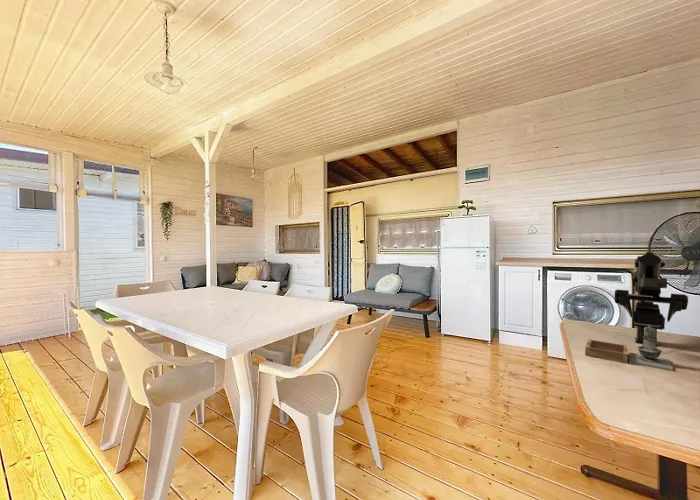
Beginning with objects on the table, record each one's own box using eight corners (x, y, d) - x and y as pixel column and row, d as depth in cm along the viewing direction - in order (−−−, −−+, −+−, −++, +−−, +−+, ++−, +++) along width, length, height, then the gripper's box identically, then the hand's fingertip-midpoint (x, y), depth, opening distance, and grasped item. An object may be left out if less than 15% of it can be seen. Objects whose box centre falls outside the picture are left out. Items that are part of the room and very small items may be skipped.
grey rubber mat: (629, 353, 109) (629, 352, 109) (669, 361, 103) (669, 359, 103) (629, 362, 102) (629, 360, 102) (672, 371, 95) (672, 369, 95)
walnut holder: (588, 347, 117) (588, 339, 117) (627, 354, 109) (627, 345, 109) (585, 355, 109) (585, 347, 108) (627, 363, 101) (627, 354, 101)
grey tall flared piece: (666, 362, 100) (667, 326, 100) (652, 364, 99) (652, 327, 99) (646, 355, 106) (647, 321, 105) (632, 357, 105) (633, 322, 104)
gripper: (615, 268, 116) (613, 301, 109) (688, 271, 104) (692, 309, 96) (615, 286, 122) (614, 319, 115) (684, 291, 110) (688, 328, 102)
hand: (649, 318), depth 107 cm, fingers open, 9 cm apart
